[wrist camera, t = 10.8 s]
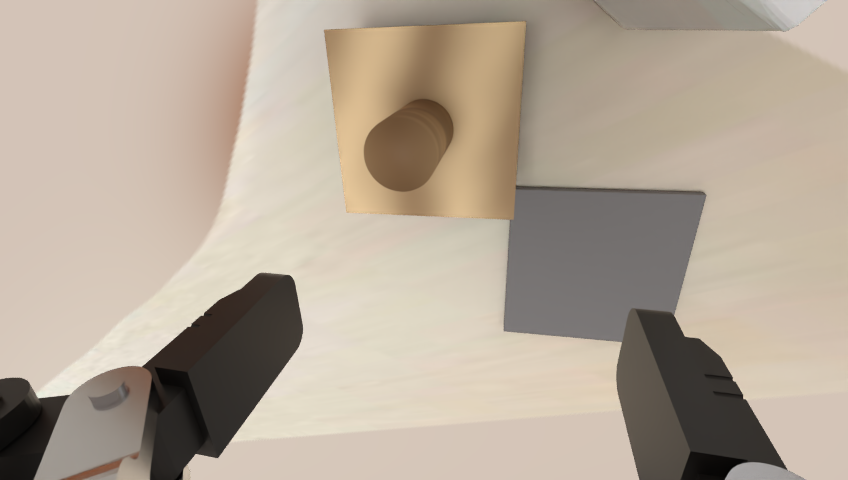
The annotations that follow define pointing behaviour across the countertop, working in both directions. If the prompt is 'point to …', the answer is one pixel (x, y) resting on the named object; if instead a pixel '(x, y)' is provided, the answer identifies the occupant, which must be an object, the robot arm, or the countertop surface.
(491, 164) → the lid
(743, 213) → the countertop surface
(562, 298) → the mat
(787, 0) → the supplement box
